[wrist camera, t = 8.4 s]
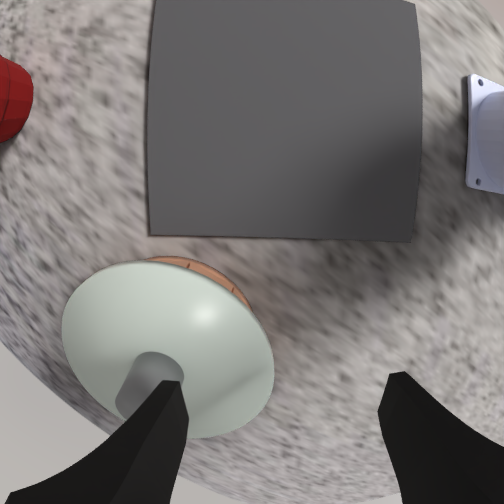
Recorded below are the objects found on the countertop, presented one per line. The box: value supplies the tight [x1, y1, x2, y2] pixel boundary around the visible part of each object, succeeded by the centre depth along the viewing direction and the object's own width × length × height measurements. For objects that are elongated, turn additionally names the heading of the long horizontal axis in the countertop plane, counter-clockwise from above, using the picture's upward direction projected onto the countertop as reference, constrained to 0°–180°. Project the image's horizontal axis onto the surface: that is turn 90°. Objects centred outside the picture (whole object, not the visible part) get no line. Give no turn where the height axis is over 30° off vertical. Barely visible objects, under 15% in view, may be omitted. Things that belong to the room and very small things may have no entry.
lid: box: [61, 260, 274, 439], centre depth 15 cm, size 13×13×4 cm
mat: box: [147, 0, 422, 243], centre depth 15 cm, size 16×16×1 cm
